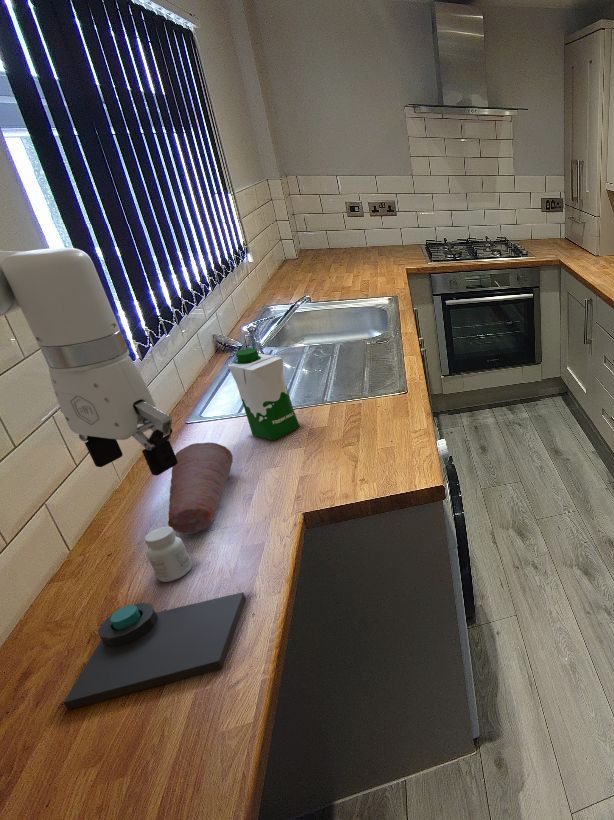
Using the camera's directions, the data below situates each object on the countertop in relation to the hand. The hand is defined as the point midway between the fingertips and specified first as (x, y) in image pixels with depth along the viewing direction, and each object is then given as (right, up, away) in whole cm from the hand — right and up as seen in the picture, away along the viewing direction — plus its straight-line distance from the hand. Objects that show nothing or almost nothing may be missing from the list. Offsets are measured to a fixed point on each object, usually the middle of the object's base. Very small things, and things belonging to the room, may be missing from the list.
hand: (137, 465), depth 72 cm
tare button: (-1, -21, -1) cm, 21 cm away
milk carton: (-13, -2, +52) cm, 53 cm away
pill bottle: (-4, -19, +11) cm, 22 cm away
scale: (+6, -24, -2) cm, 25 cm away
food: (-11, -13, +26) cm, 31 cm away
